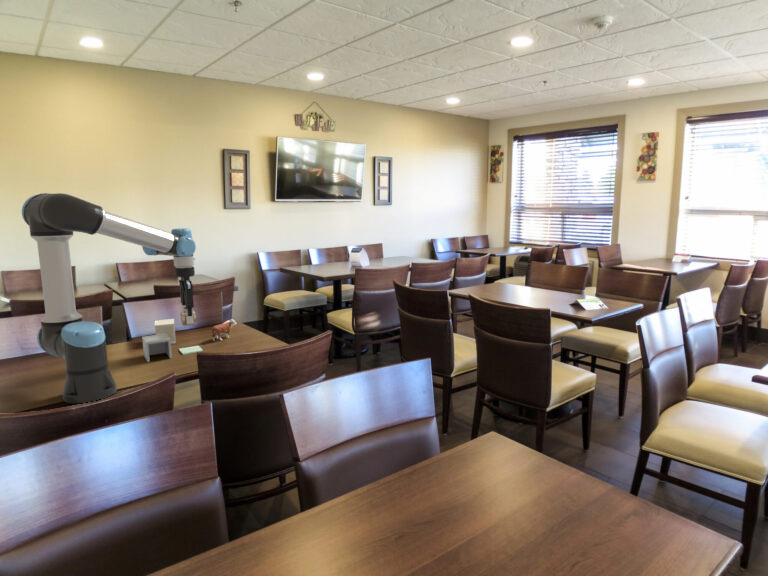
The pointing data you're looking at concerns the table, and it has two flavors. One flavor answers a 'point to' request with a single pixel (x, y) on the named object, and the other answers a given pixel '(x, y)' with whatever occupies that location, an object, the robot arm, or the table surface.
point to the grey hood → (156, 345)
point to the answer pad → (190, 350)
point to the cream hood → (166, 328)
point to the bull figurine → (223, 329)
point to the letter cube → (183, 318)
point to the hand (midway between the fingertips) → (188, 321)
